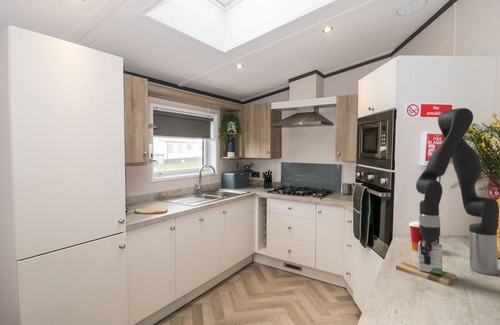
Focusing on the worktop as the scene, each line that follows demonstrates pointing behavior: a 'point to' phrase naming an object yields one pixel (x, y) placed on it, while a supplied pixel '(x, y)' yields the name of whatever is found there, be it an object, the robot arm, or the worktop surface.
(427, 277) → the board
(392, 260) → the worktop surface
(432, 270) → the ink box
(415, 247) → the coffee cup
